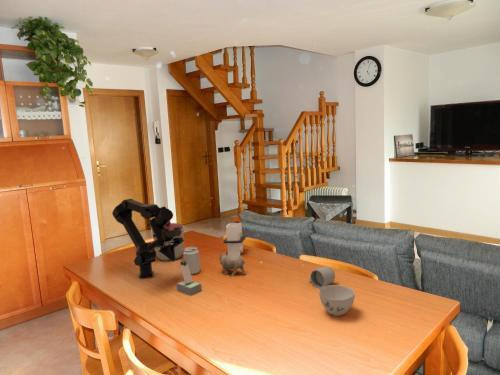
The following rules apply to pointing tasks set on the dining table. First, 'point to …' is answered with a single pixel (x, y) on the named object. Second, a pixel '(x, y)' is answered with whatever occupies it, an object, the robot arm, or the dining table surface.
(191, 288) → the switch box
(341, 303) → the teacup
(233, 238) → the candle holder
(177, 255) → the canister
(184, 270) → the toggle lever
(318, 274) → the ceramic mug
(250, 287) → the dining table surface
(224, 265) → the rhinoceros figurine
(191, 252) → the can
